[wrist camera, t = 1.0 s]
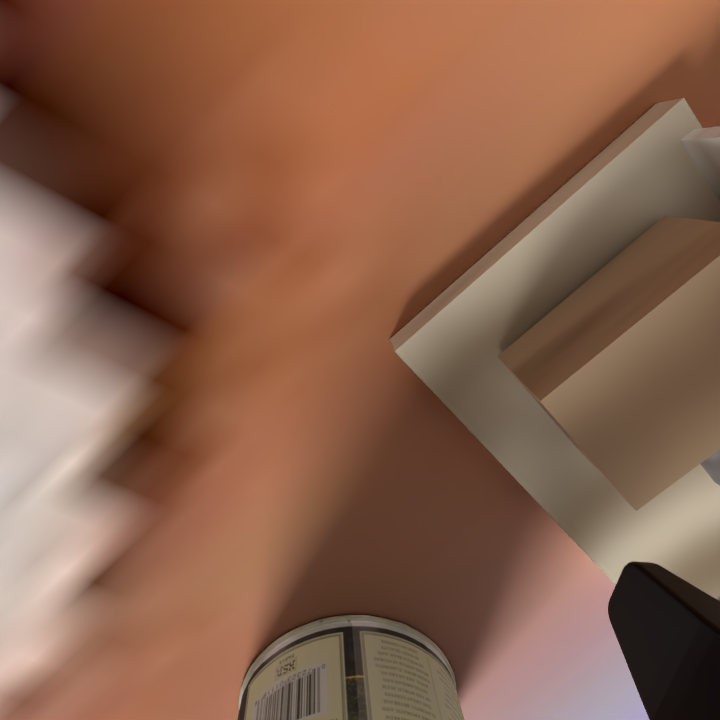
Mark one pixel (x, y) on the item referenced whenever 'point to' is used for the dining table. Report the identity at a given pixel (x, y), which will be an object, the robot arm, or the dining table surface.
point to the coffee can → (350, 674)
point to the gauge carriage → (636, 361)
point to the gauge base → (539, 297)
